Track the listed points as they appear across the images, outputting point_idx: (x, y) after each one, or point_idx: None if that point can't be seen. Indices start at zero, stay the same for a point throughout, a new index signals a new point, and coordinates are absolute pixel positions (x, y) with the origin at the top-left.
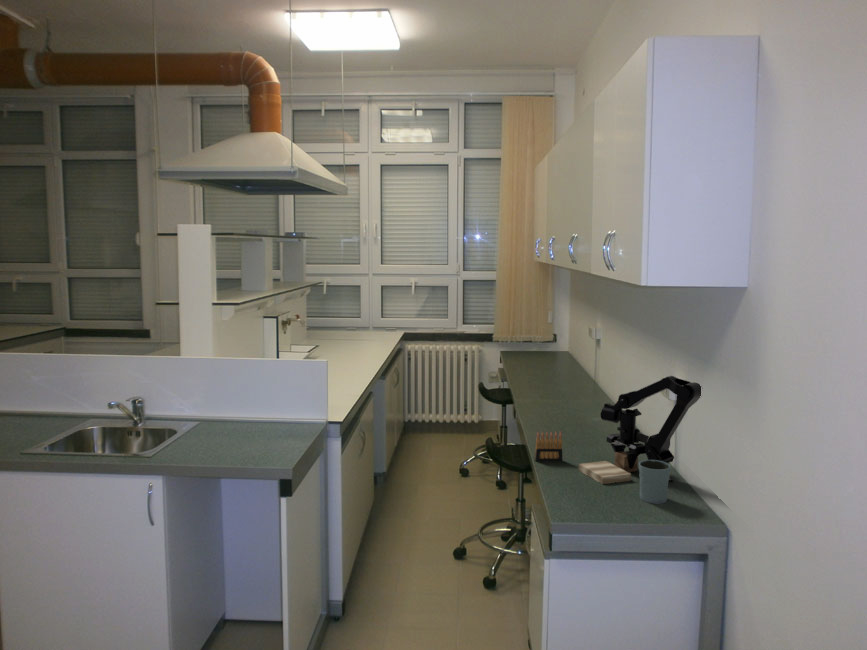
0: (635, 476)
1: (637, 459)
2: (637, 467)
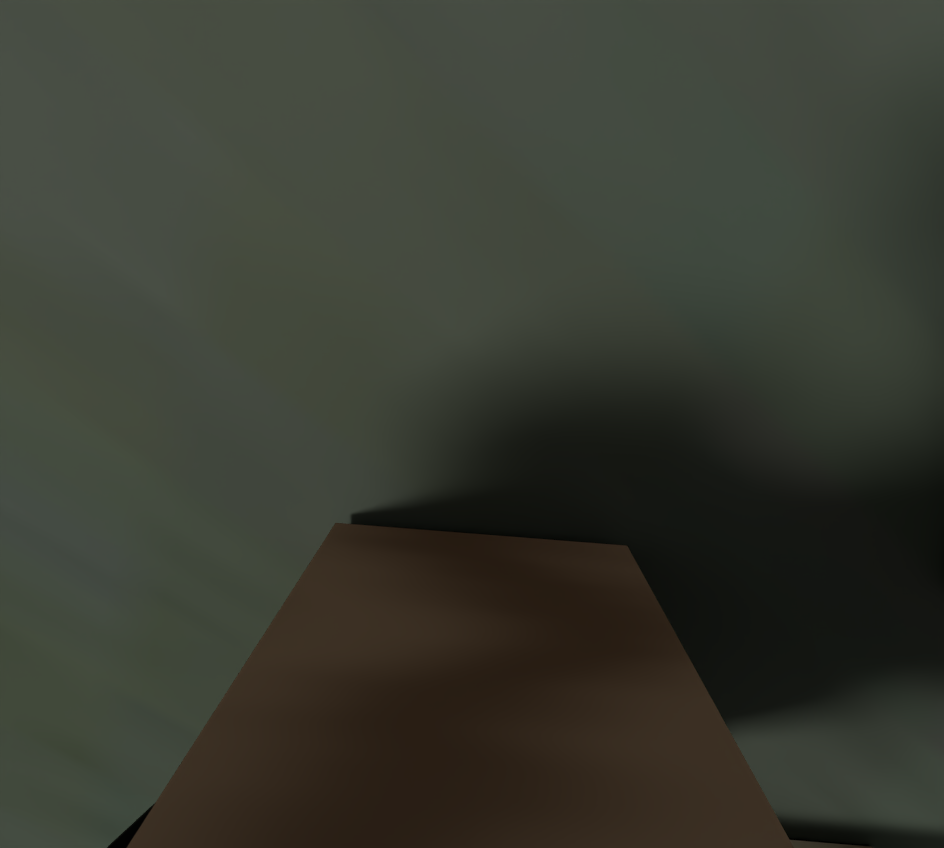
0: (784, 704)
1: (746, 780)
2: (648, 587)
